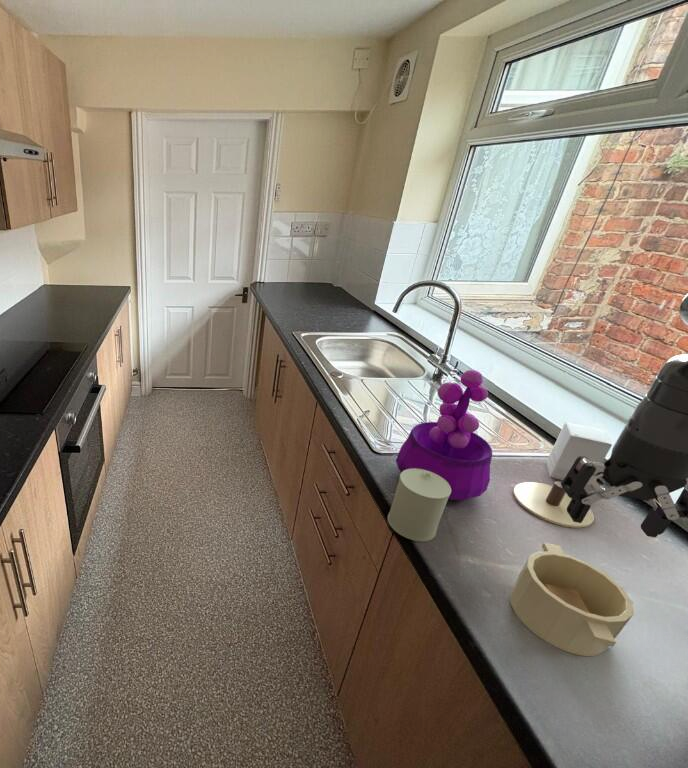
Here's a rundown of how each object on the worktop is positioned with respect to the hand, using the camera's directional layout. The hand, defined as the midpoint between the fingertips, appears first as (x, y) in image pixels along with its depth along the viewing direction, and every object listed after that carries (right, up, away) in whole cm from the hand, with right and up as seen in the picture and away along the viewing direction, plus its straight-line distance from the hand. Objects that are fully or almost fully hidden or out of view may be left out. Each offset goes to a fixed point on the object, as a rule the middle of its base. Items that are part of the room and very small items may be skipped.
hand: (610, 525), depth 61 cm
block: (0, -18, +8) cm, 20 cm away
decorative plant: (-1, -3, +39) cm, 39 cm away
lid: (+20, -6, +31) cm, 37 cm away
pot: (0, -18, +8) cm, 20 cm away
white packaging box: (+32, -2, +41) cm, 52 cm away
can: (-14, -9, +27) cm, 32 cm away
